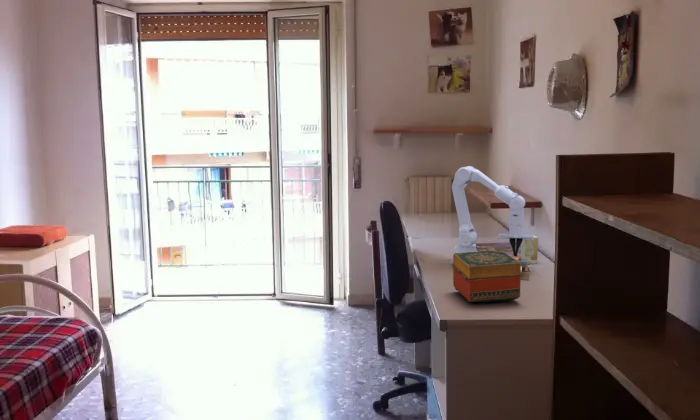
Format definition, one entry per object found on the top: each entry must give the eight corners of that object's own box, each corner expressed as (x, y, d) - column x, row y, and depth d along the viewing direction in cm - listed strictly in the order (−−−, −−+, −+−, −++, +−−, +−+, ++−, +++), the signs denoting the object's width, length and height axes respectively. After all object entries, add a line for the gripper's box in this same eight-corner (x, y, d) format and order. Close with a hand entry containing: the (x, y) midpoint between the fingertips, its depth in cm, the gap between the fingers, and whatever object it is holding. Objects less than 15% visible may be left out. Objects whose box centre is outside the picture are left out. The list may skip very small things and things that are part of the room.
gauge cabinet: (502, 271, 259) (502, 260, 258) (503, 267, 267) (503, 256, 266) (526, 273, 256) (527, 261, 255) (527, 269, 264) (527, 258, 263)
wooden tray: (475, 276, 251) (475, 268, 251) (478, 270, 262) (478, 262, 261) (528, 280, 245) (528, 271, 244) (529, 274, 255) (529, 265, 255)
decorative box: (505, 292, 231) (503, 248, 230) (524, 303, 209) (522, 255, 208) (452, 295, 230) (450, 252, 229) (465, 307, 208) (463, 259, 207)
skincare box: (525, 264, 273) (526, 237, 272) (520, 262, 277) (521, 235, 276) (537, 263, 275) (538, 236, 273) (532, 261, 279) (533, 235, 278)
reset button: (508, 267, 259) (508, 256, 259) (508, 264, 264) (509, 254, 264) (521, 268, 258) (521, 257, 257) (521, 265, 263) (521, 254, 262)
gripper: (498, 225, 257) (497, 256, 259) (534, 226, 253) (532, 258, 254) (499, 222, 264) (498, 253, 265) (534, 224, 259) (533, 255, 261)
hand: (515, 255), depth 260 cm, fingers closed, pressing on reset button
